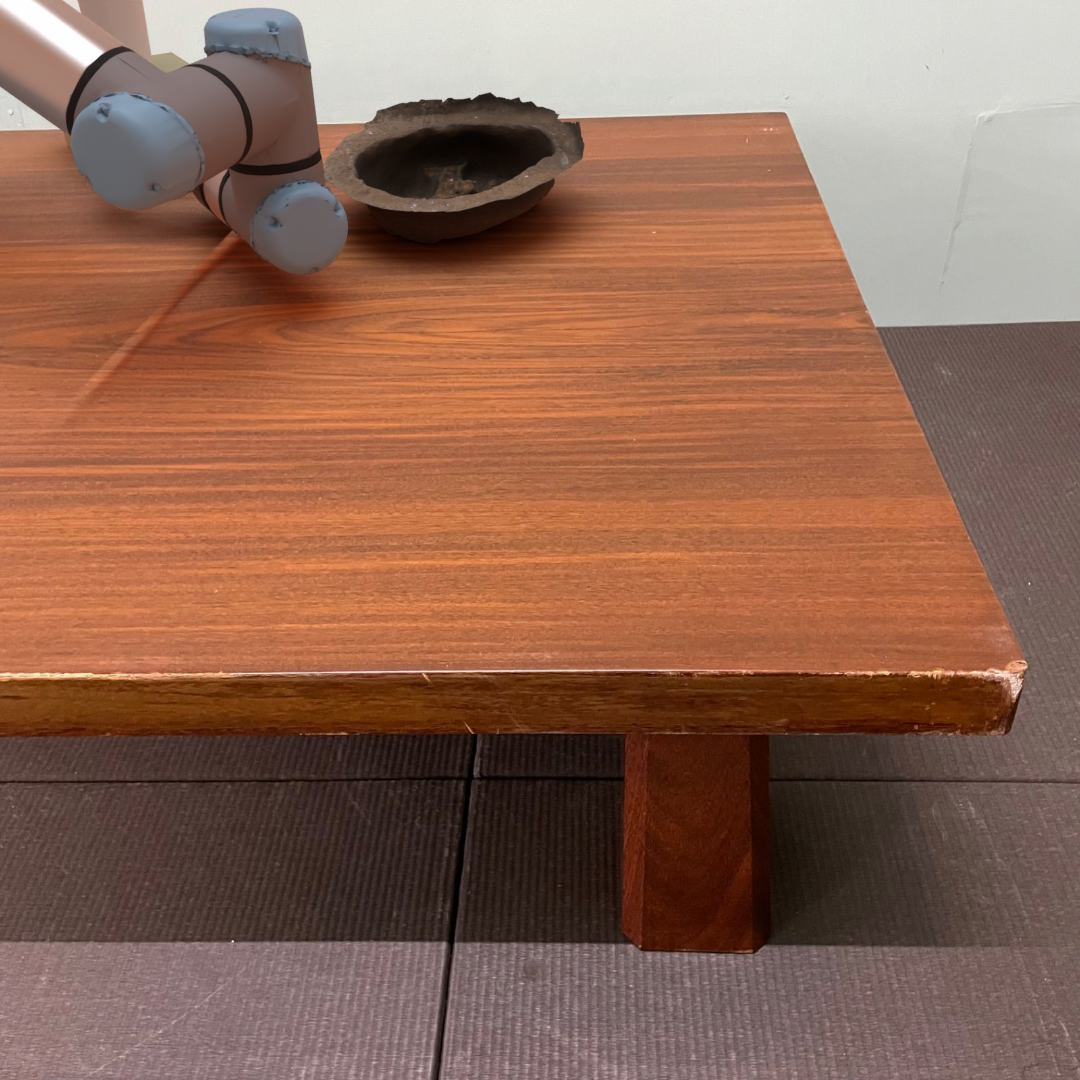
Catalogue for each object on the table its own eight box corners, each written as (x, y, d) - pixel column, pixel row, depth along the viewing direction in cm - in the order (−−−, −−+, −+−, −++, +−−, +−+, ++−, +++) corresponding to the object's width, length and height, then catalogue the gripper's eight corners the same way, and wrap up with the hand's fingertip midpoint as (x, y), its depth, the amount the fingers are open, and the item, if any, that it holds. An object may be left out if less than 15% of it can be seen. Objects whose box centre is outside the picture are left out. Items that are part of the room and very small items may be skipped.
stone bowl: (559, 166, 127) (561, 80, 121) (601, 273, 108) (605, 176, 102) (330, 179, 124) (319, 90, 118) (331, 290, 105) (318, 192, 99)
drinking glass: (98, 70, 127) (74, -31, 121) (160, 66, 128) (140, -34, 122) (91, 86, 122) (66, -19, 116) (156, 81, 123) (135, -23, 117)
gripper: (113, 255, 101) (54, 187, 116) (373, 197, 111) (288, 141, 126) (92, 168, 96) (33, 109, 111) (364, 116, 107) (277, 69, 122)
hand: (168, 126), depth 119 cm, fingers closed on drawer, 13 cm apart
